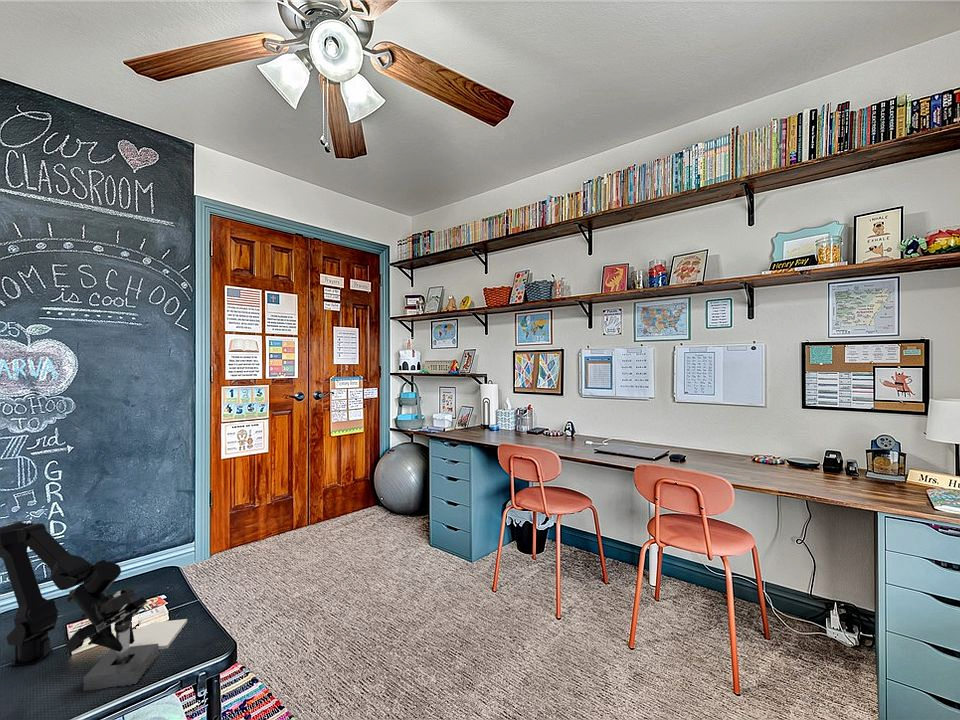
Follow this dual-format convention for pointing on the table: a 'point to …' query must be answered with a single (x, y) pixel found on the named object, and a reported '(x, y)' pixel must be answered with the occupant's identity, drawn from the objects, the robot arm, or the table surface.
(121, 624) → the black knobbed metal rod
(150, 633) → the pad
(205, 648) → the table surface
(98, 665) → the grey square frame block
